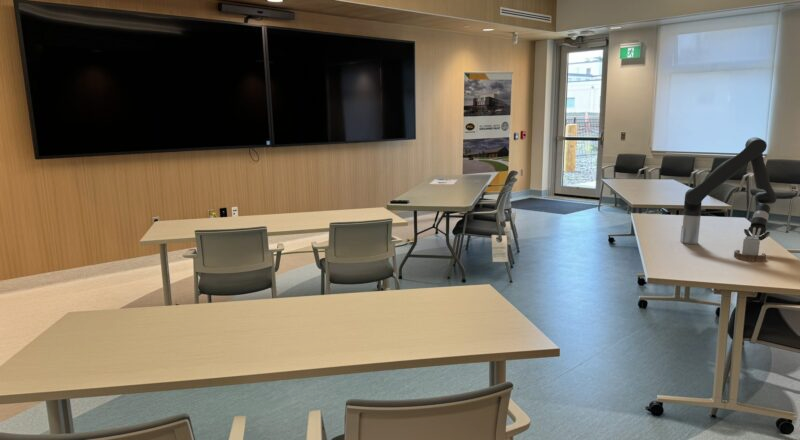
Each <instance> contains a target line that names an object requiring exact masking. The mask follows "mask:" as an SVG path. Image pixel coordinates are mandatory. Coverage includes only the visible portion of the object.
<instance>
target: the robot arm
mask: <svg viewBox="0 0 800 440" xmlns="http://www.w3.org/2000/svg"><path fill="white" fill-rule="evenodd" d="M767 147H768V145H767V142H766V141H765V139H762V138H760V137H750V138H748V139H747V141H746V142H745V147H744V149H743V150H741V152H739V153H738V154H736V155H735V156H733V157H731V158H728V159H727V160H725V161H724V162H722V163H720V164H719V165H717V167H716V168H715V169H713V171H712V172H710V174H708V175H707V177H706V178H705V179H704V180H703V181H702V182H701V183H699V184H698V185H696V186H695V187H693V188H689V189H688V190H686V192H685V195H684V201H683V202H684V203H683V204H684V205H683V216H682V217H683V218H682V219H683V220H682V225H681V228H680V229H681V230H680V239H679V240H680V242H681V244H689V245H697V244H699V238H700V237H699V235H700V228H701V227H700V226H701V216H702V203H703V200H704V199H705V198H706V197H708V195H710V193H712V192H713V191H714V190H716V189H717V188H719V186H721V185H723V184H725V183H726V182H727V181H728V180H730V179H731V178H732V177H734V176H735V175H736V174H737V173H738V172H740V170H741V169H743V168H744V167H745V166H746V165H747V164H748V163H751V167H752V173H753V179H754V184H755V187H756V189H757V190H758V189H759V190H763V191H759V192H757V193H755V195H754V205H755V208H754V213H753V216H752V218H751V221H750V225H749V227H748V228H744V229H743V232H744V233H743V234H745V237H747V236H751V237H757V238H759V240H760V241H763V240H765V239H766V238H768V237H770V236H771V234H770V233H771V232H770V231H767V226H768V222H769V215H770V210H771V206H770V205H769V204H775V203H776V201H777V199H778V198H777V194H776V192H775V191H774V189H773V187H772V185H771V181H770V176H769V172H768V169H767V167H766V164H765V161H764V155H763V153H765V151H766V150H767Z"/></svg>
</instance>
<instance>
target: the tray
mask: <svg viewBox="0 0 800 440" xmlns="http://www.w3.org/2000/svg"><path fill="white" fill-rule="evenodd" d="M733 257H734V258H735V259H738V260H741V261H745V262H765V261H766V260H767V259H766V257H767V254H766V253H764V252H762V253H761V255H760V254H758V255H756V256H755V255H746V254H742V252H741V250H740V249H736V250H734V251H733Z"/></svg>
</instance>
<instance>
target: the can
mask: <svg viewBox="0 0 800 440" xmlns="http://www.w3.org/2000/svg"><path fill="white" fill-rule="evenodd" d="M751 236H752V235H751ZM751 236H745V237H744V239H743V242H742V243H743V244H742V252H741V254H746V255H755V256H756V255H759V253H760V244H761V243H760V242H761V240H759V238H757V237H756V236H755V237H751Z"/></svg>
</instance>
